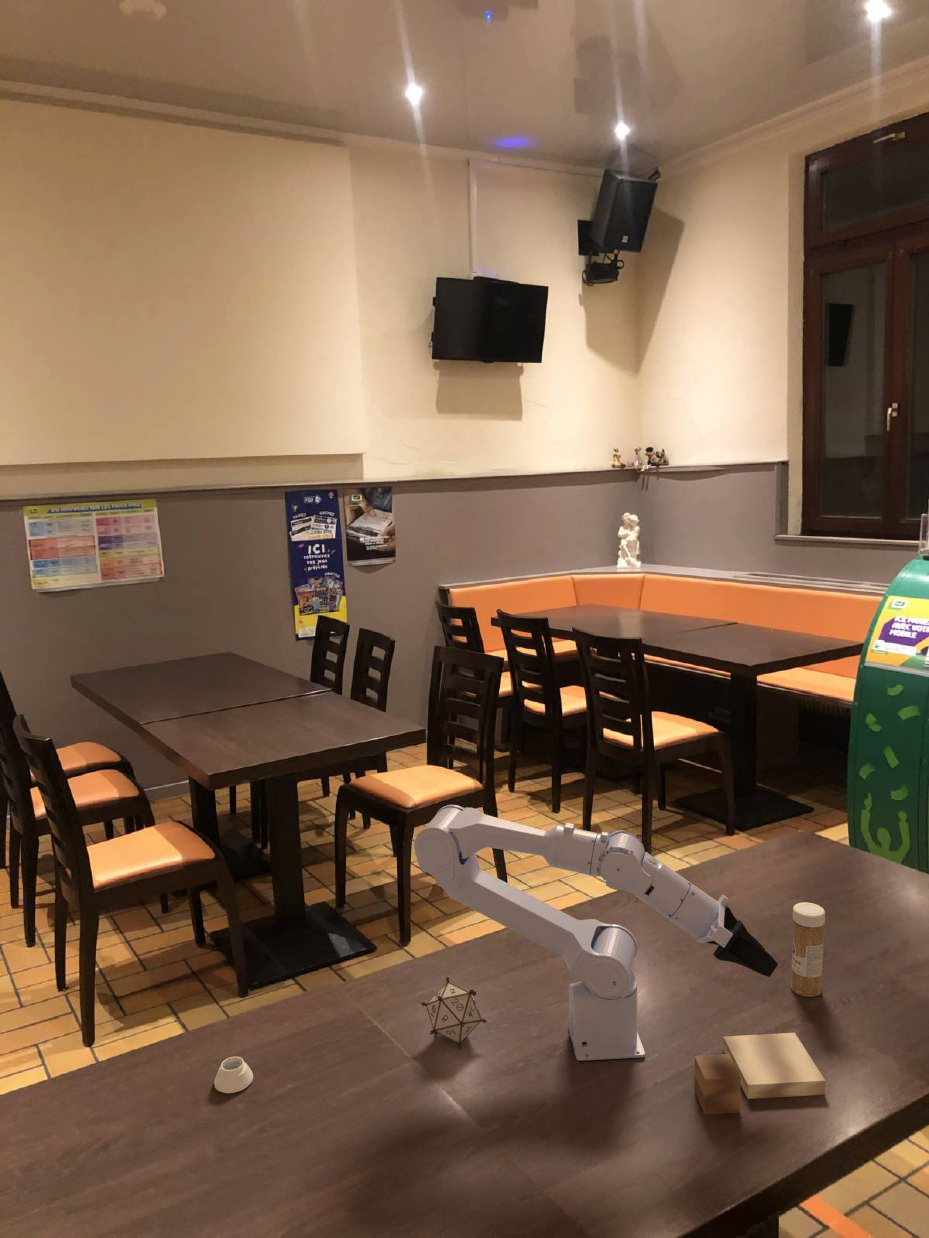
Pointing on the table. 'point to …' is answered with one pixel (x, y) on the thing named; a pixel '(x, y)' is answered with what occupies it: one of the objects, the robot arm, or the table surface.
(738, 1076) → the walnut block
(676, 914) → the robot arm
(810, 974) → the sprinkles bottle
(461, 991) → the game die
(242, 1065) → the lidless jar
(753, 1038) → the birch base
